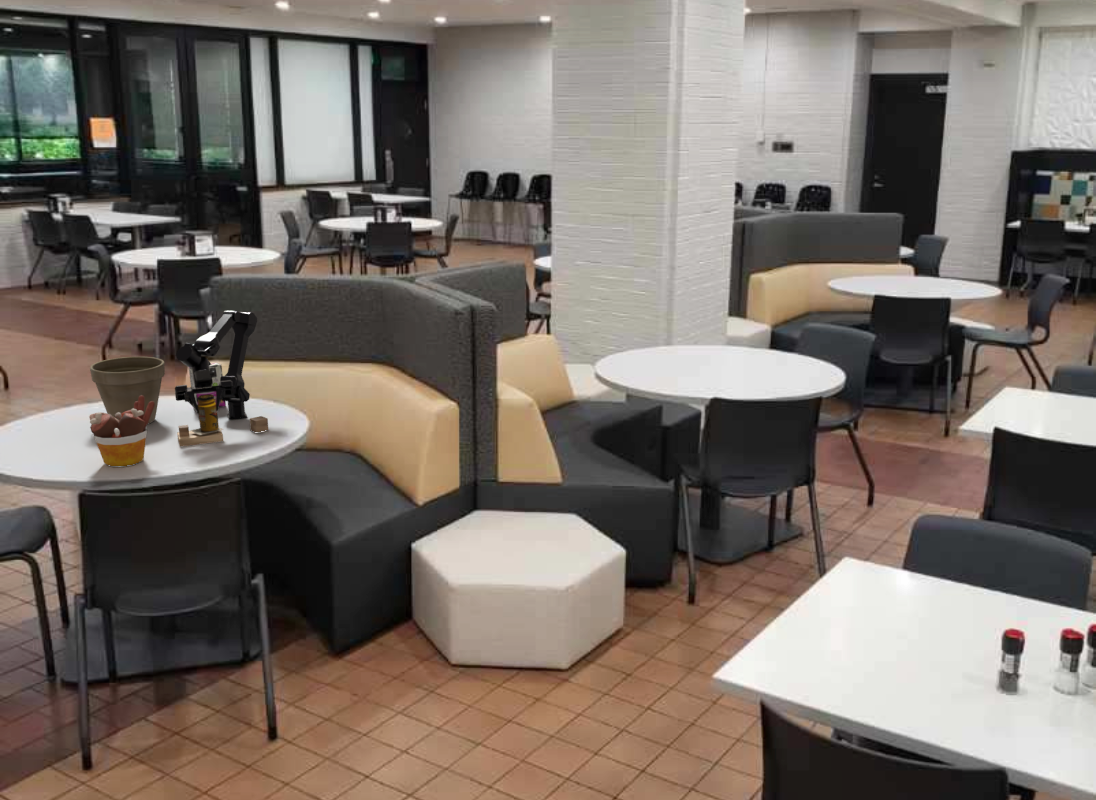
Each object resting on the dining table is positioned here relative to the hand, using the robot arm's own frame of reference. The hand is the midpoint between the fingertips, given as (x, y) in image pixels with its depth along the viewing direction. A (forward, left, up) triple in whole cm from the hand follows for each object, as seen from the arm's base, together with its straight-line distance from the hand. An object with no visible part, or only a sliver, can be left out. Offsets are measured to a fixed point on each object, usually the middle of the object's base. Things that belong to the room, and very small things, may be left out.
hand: (207, 411), depth 363 cm
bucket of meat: (+13, -27, -10) cm, 32 cm away
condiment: (-1, -1, -7) cm, 7 cm away
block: (-5, +17, -10) cm, 21 cm away
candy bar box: (-45, +4, -10) cm, 47 cm away
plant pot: (-36, -23, -10) cm, 44 cm away
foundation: (-2, -3, -10) cm, 11 cm away
